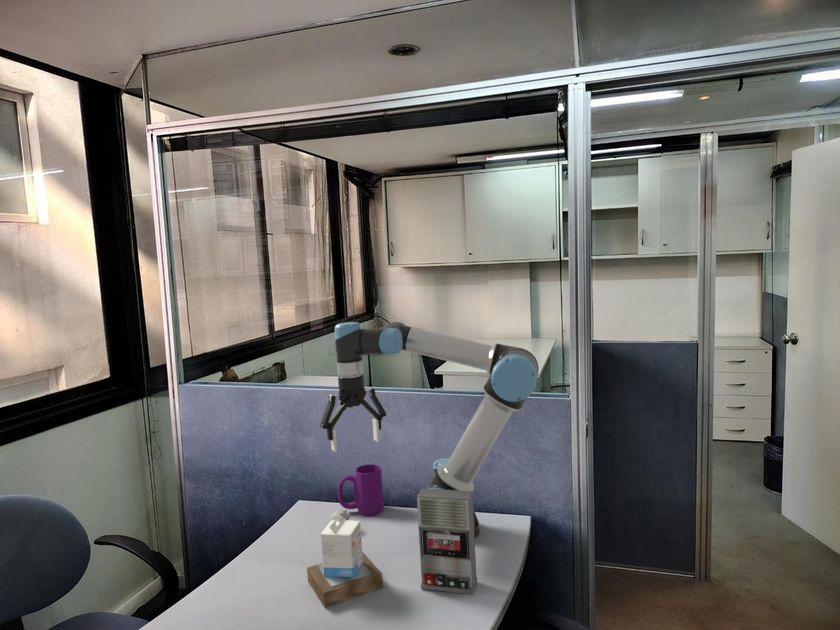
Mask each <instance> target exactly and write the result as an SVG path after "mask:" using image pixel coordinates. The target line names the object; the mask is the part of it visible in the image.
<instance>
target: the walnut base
mask: <svg viewBox="0 0 840 630" xmlns="http://www.w3.org/2000/svg"><path fill="white" fill-rule="evenodd" d="M362 553H363V562H362V564H361V566H360V568H359V569H358V571H357V573H356V575H355V576H354V578H350V577H324V570H323V562H321V563H318V564H314V565H311V566H308V567H306V571H307V572H306V573H307V583H308V584H309V586H310V587H311V589H312V590H313V592H314V594H315V595H316V596H317V598H318V600H319V601H320V603H321V605H322V606H323V608H324V609H326V608H329V607H332V606H335V605H338V604H341V603H343V602H346V601H349V600H351V599H352V600H353V599H354V598H357V597H360V596H363V595H366V594H368V593H371V592H374V591H376V590H380V589H382V588H383V587H384V584H383V573H382V572H381V570H380V569H379V568H378V567H377V566H376V565H375V564H374V563H373V561H372V560H371V559H370V558H369V557H368V556H367V555H366V554H365V552H364V551H362ZM383 589H384V588H383Z"/></svg>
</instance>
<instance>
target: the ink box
mask: <svg viewBox="0 0 840 630" xmlns="http://www.w3.org/2000/svg"><path fill="white" fill-rule="evenodd" d="M330 520H331V519H330ZM320 540H321V541H320V543H321V555H322V563H323V570H324V577H350V578H354V576H355V575H356V573H357V571H358V569H359V568H360V566H361V564H362V562H363V553H364V552H363V543H362V541H363V540H362V529H361V520H351V519H349V520H346V519H344V518H343V517H342V516H341V515H338V517H337V518H336V519H335V520H331V522H330V521H329V523H328V524H327V526H326V527H324V529H323V531H321V532H320ZM362 552H363V553H362Z"/></svg>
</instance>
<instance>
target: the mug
mask: <svg viewBox="0 0 840 630" xmlns="http://www.w3.org/2000/svg"><path fill="white" fill-rule="evenodd" d="M382 475H383V473H382V467H381V466H380V465H377V464H373V463H372V464H371V463H370V464H369V463H368V464H363V465H360V466H358V467H356V468H355V476H354V475H350V474H348V475H344V476H343V477H342V478H341V479H340V481H339V483H338V486H337V499H338V502H339V505H341V507H342V508H343V509H346V510H355V509H357V512H358V514H359V515H363V516H366V517H368V516H370V517H371V516H375V515H378V514H381V513H382V512H383V511H384V510H385V509H384V508H385V503H384V493H383V492H384V491H383V490H384V488H383V487H384V486H383V476H382ZM346 481H351V483H353V489H354V491H353V492H354V501H353V502H346V501H345V500H344V497H343V495H344V494H343V486H344V484H345V482H346Z"/></svg>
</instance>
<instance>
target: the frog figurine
mask: <svg viewBox="0 0 840 630" xmlns="http://www.w3.org/2000/svg"><path fill="white" fill-rule="evenodd" d="M347 510H348V509H346V508H340V509H338V510H337V511H334V512H333V513H332V514H331V515H330V516H329V523H330V522H331V520H335V519H336V518H337V517H338V515H341V516H342V517H343V518H344V519H346V520H350V519H351V513H350V512H349V511H347Z"/></svg>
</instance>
